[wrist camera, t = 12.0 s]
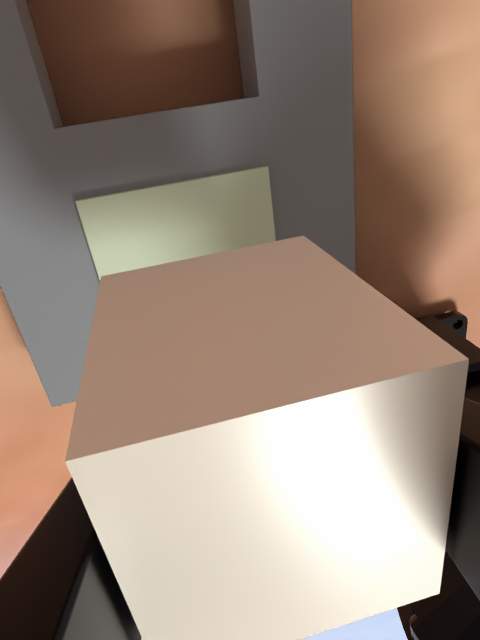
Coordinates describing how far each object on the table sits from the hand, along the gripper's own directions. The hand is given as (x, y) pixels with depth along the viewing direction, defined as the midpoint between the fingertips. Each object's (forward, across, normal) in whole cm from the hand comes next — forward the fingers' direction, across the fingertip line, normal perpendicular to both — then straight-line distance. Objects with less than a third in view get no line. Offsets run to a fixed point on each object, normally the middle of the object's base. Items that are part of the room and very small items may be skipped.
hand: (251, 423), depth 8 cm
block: (+3, 0, 0) cm, 3 cm away
